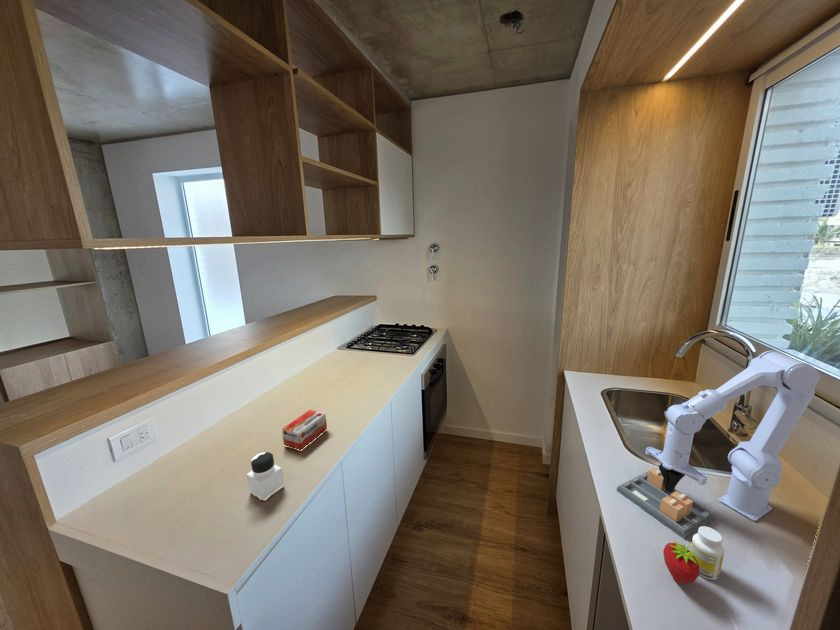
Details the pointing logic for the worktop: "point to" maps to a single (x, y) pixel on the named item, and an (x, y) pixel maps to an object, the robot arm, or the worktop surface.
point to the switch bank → (651, 500)
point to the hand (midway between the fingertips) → (669, 489)
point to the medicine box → (304, 429)
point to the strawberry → (681, 563)
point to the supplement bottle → (708, 552)
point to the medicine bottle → (264, 475)
